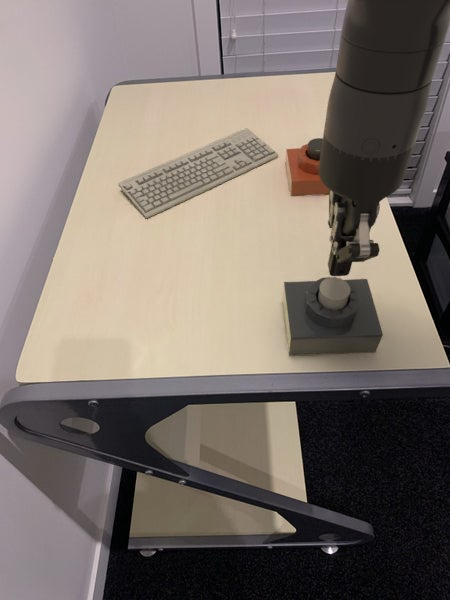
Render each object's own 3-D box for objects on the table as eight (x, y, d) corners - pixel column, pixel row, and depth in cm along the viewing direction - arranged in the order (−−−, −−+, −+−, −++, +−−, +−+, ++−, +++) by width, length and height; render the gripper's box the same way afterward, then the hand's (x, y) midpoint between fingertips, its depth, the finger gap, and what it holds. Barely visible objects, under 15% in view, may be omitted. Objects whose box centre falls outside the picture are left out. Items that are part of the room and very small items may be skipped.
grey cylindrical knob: (344, 287, 54) (347, 276, 52) (350, 310, 52) (353, 299, 50) (315, 288, 54) (317, 277, 53) (320, 311, 52) (322, 300, 50)
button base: (338, 160, 81) (342, 135, 77) (348, 193, 75) (353, 168, 71) (285, 163, 81) (286, 138, 77) (290, 195, 75) (292, 171, 71)
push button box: (361, 297, 60) (370, 268, 55) (376, 352, 54) (387, 324, 50) (282, 300, 60) (284, 271, 56) (288, 355, 55) (291, 328, 50)
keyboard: (146, 219, 73) (144, 210, 72) (119, 190, 79) (117, 181, 77) (278, 157, 83) (279, 147, 81) (246, 135, 88) (246, 126, 87)
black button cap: (328, 148, 76) (329, 137, 74) (331, 161, 73) (333, 150, 71) (305, 149, 76) (306, 138, 74) (308, 162, 73) (309, 151, 72)
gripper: (442, 174, 31) (384, 316, 45) (395, 89, 40) (359, 231, 53) (338, 178, 32) (312, 318, 45) (314, 93, 40) (298, 233, 53)
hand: (337, 271), depth 49 cm, fingers closed
